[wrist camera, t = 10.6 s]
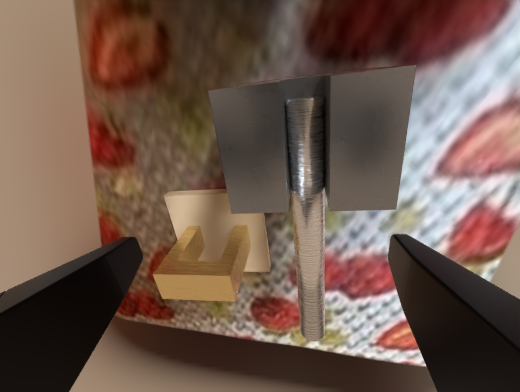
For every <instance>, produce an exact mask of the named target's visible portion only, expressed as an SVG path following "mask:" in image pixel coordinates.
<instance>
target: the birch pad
mask: <svg viewBox="0 0 520 392" xmlns="http://www.w3.org/2000/svg"><path fill="white" fill-rule="evenodd" d="M164 198H165V202H166V205H167V208H168V211H169V214H170V217H171V221H172V224H173V227H174V230H175V233H176V236H177V240H178V239H179V238H180V236H181V235H182V234H183V232H184V231H185V230H186V228H187V227H188V226H200V228H201V232H202V235H203V239H204V243H205V248H204V250H203V252H202V254H201V256H200V257H199V259H198V261H220V259H221V256H222V254H223V252H224V249H225V247H226V245H227V242H228V240H229V238H230V236H231V233H232V231H233V229H234V226H235V225H248V231H249V237H250V243H251V249H250V252H249V256H248V259H247V263H246V266H245V270H244V272H270V267H271V263H270V255H269V247H268V239H267V231H266V223H265V215H264V213H248V214H231V209H230V204H229V199H228V194H227V189H211V190H190V191H169V192H168V193H167V194H166V195H164Z"/></svg>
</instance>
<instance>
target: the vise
mask: <svg viewBox="0 0 520 392" xmlns="http://www.w3.org/2000/svg"><path fill="white" fill-rule="evenodd" d="M415 71H416V65H408V66H394V67H381V68H367V69H357V70H349V71H341V72H333V73H325V74H317V75H310V76H302V77H294V78H286V79H278V80H270V81H262V82H254V83H247V84H241V85H236V86H231V87H225V88H220V89H215V90H209V91H208V94H209V99H210V105H211V110H212V115H213V120H214V126H215V131H216V136H217V141H218V146H219V152H220V157H221V162H222V167H223V173H224V178H225V183H226V188H227V194H228V199H229V204H230V209H231V214H248V213H284V212H289V202H290V190H291V199H292V214H293V229H294V244H295V258H296V273H297V288H298V303H299V317H300V331H301V334H302V336H303V337H304V338H305V339H307V340H309V341H318V340H320V339H322V338H323V336H324V334H325V211H324V187H325V192H326V196H327V201H328V206H329V210H330V211H357V210H394V209H396V207H397V200H398V192H399V185H400V178H401V171H402V164H403V157H404V150H405V142H406V135H407V128H408V121H409V114H410V107H411V100H412V92H413V85H414V78H415Z"/></svg>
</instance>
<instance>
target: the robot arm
mask: <svg viewBox="0 0 520 392" xmlns="http://www.w3.org/2000/svg"><path fill="white" fill-rule="evenodd" d="M142 260H143V253H142V251H141V248H140V246H139V243H138V241H137V239H136V238H135V237H123V238H120V239H118V240H116V241H114V242H112V243H109V244H107V245H105V246H103V247H101V248H98V249H96V250H94V251H92V252H90V253H87V254H85V255H83V256H81V257H79V258H77V259H74V260H72V261H70V262H68V263H66V264H63V265H61V266H59V267H57V268H55V269H53V270H50V271H48V272H46V273H44V274H41V275H39V276H37V277H35V278H33V279H31V280H28V281H26V282H24V283H22V284H19V285H17V286H15V287H13V288H11V289H9V290H7V291H4V292H2V293H0V392H69V391H70V390H71V388H72V386H73V384H74V383H75V381H76V379H77V378H78V376H79V374H80V372H81V371H82V369H83V367H84V366H85V364H86V362H87V361H88V359H89V357H90V356H91V354H92V352H93V351H94V349H95V347H96V345H97V344H98V342H99V340H100V339H101V337H102V335H103V334H104V332H105V330H106V328H107V327H108V325H109V323H110V322H111V320H112V318H113V317H114V315H115V313H116V312H117V310H118V308H119V306H120V305H121V303H122V301H123V299H124V298H125V296H126V294H127V292H128V290H129V288H130V286H131V283H132V281H133V279H134V277H135V275H136V273H137V271H138V269H139V267H140V264H141V262H142ZM388 260H389V265H390V268H391V272H392V275H393V279H394V282H395V285H396V289H397V292H398V296H399V299H400V302H401V306H402V308H403V311H404V314H405V316H406V319H407V321H408V323H409V326H410V328H411V330H412V333H413V335H414V337H415V340H416V342H417V345H418V347H419V349H420V352H421V354H422V356H423V359H424V361H425V364H426V366H427V368H428V370H429V373H430V375H431V378H432V380H433V382H434V385H435V387H436V390H437V392H520V299H518V298H516V297H515V296H513V295H511V294H509V293H508V292H506V291H504V290H503V289H501V288H499V287H497V286H495V285H494V284H492V283H490V282H489V281H487V280H485V279H483V278H482V277H480V276H478V275H477V274H475V273H473V272H471V271H470V270H468V269H466V268H464V267H463V266H461V265H459V264H457V263H456V262H454V261H452V260H450V259H449V258H447V257H445V256H444V255H442V254H440V253H438V252H437V251H435V250H433V249H431V248H430V247H428V246H426V245H424V244H423V243H421V242H419V241H418V240H416V239H414V238H412V237H411V236H409V235H407V234H393V235H392V236H391V239H390V246H389V253H388Z"/></svg>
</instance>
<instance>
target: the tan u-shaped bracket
mask: <svg viewBox="0 0 520 392" xmlns="http://www.w3.org/2000/svg"><path fill="white" fill-rule="evenodd" d="M204 248H205V243H204V239H203V235H202V232H201V228H200V226H188V227H187V228H186V230H185V231H184V232H183V234H182V235H181V236H180V238H179V239H178V241H177V242H176V243H175V245H174V246H173V247H172V249H171V250H170V251H169V253H168V254H167V255H166V257H165V258H164V260H163V261H162V262H161V264H160V265H159V266H158V268H157V269H156V270H155V272H154V273H153V276H154V279H155V281H156V284H157V287H158V289H159V292H160V294H161V297H162V299H183V300H207V301H232V302H235V301H236V298H237V294H238V291H239V287H240V284H241V280H242V277H243V273H244V270H245V266H246V263H247V259H248V256H249V252H250V249H251V243H250V237H249V231H248V225H235V226H234V229H233V231H232V233H231V236H230V238H229V240H228V242H227V245H226V247H225V249H224V252H223V254H222V256H221V259H220V261H198V259H199V257H200V256H201V254H202V252H203V250H204Z"/></svg>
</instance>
